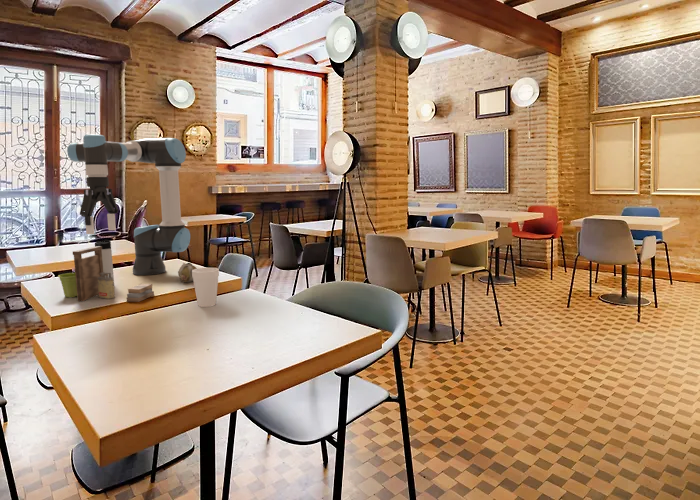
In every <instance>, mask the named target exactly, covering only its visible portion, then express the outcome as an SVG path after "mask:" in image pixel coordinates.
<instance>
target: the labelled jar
mask: <svg viewBox="0 0 700 500" xmlns="http://www.w3.org/2000/svg"><path fill="white" fill-rule="evenodd" d="M108 274H109V277H108ZM99 275H101V276H100V277H98V290H99V295H98V298H101V299H115V297H116V296H115V287H114V286H115V281H114V282H113V277H111V273H106V274H105V272H102V273H99Z"/></svg>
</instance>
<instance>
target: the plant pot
mask: <svg viewBox="0 0 700 500" xmlns="http://www.w3.org/2000/svg"><path fill="white" fill-rule="evenodd" d="M57 276H58V278H59V280H60V283H61V287H62V290H63V294H64V297H65V298H75V297H77V286H76V275H75V272H68V273H62V274H58V275H57Z"/></svg>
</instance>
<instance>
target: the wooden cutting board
mask: <svg viewBox="0 0 700 500" xmlns="http://www.w3.org/2000/svg"><path fill="white" fill-rule="evenodd" d="M92 252H94V255H90V256H85V257H82V255H83V254H89V253H92ZM72 255H73V261H74V273H75V275H76V286H77V296H76V297H77V302H85V301H86V300H89V299H91V298H94V297H98V296H99V290H98V277H100V276H101V275H99V273H102V272H103V261H102V246H95V245H94V246H92V247H86V248H82V249H78V250H74V251H72Z"/></svg>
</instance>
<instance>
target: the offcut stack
mask: <svg viewBox="0 0 700 500" xmlns="http://www.w3.org/2000/svg"><path fill="white" fill-rule="evenodd" d="M152 295H153V296H155V291H154V290H153V284H152V283H140V284H138V285H135V286H132V287H129V288H127V294H126V302H132V303H133V302H134V303H135V302H136V303H137V302H138V303H140V302H141V301H143V300H146V299H148V298H150V296H151V297H153V296H152Z"/></svg>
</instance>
